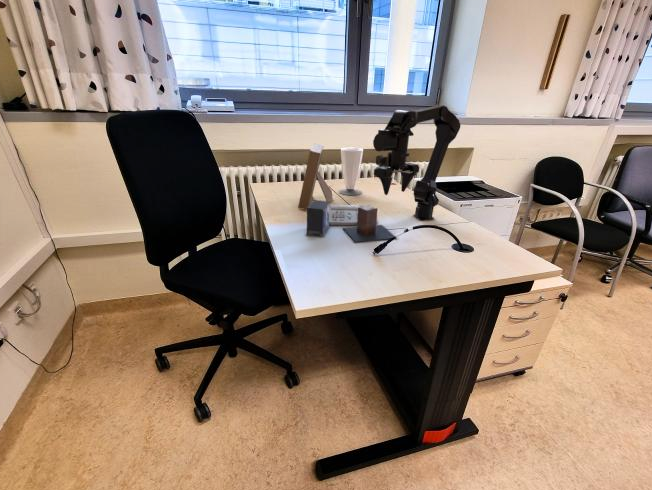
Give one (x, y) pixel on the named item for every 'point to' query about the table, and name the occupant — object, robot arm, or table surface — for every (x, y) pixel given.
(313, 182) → the photo frame
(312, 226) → the small box
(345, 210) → the office telephone
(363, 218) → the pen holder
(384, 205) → the table surface
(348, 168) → the cup
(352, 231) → the desk pad
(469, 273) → the table surface
